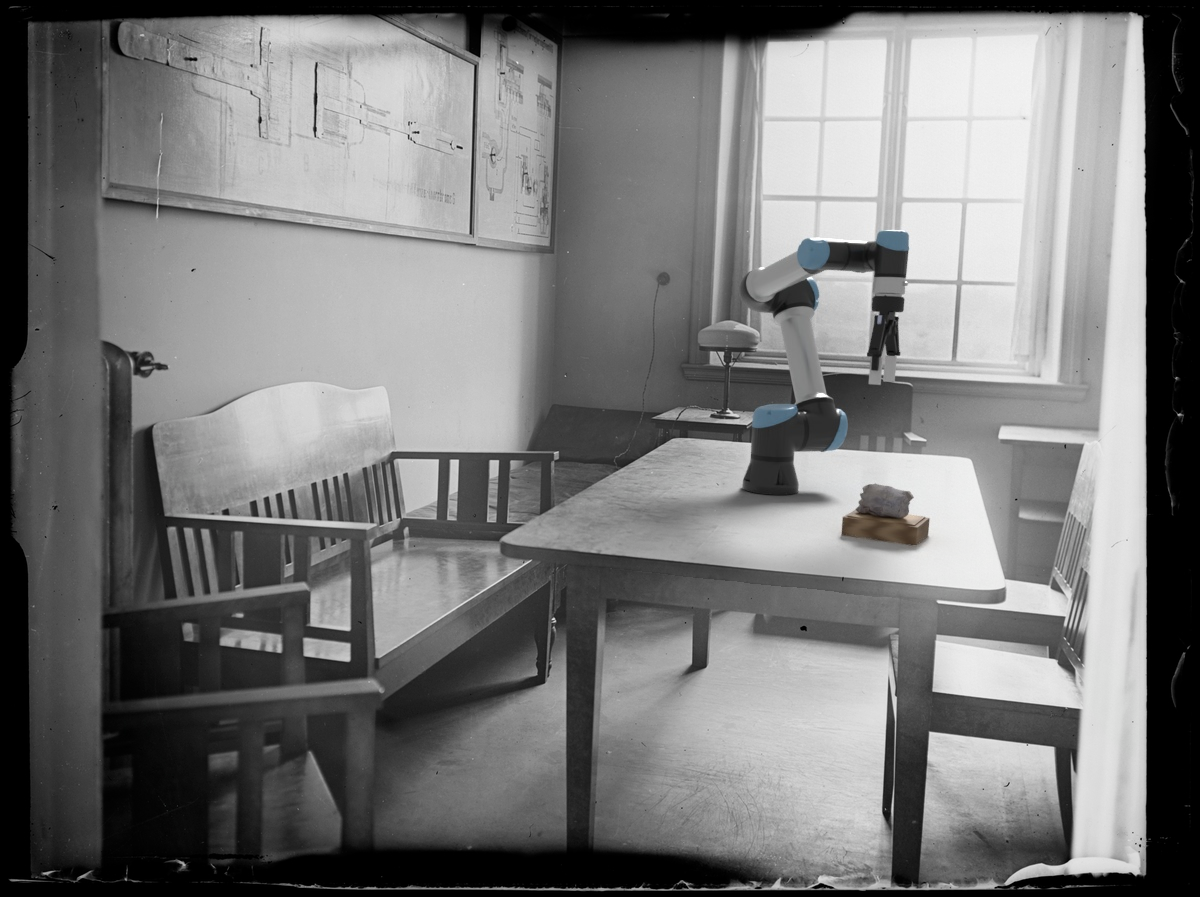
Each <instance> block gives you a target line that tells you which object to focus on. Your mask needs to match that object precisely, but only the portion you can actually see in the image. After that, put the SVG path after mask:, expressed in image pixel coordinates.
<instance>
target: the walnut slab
mask: <svg viewBox="0 0 1200 897" xmlns="http://www.w3.org/2000/svg"><path fill="white" fill-rule="evenodd" d="M930 520H931V518H930V517H926V516H923V515H922V516H921V515H914V514H909V513H908V515H907V516H905V517H904V518H897V517H882V516H879V515H877V514H874V513H867V514H862V513H859V512H857V511H856V510H855V509H854V510H852V511H851V512H848V513H847V514H845V515H843V516H842V524H841V535H842V536H847V537H852V538H853V537H854V538H859V539H860V538H861V539H868V540H872V541H873V540H874V541H881V542H888V543H893V544H901V545H906V546H907V545H908V546H915V547H917V545H918V544H920V543H921V542H922V541H924V540H925V539H927V537H928V536H929V529H930ZM918 546H919V545H918Z"/></svg>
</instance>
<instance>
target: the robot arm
mask: <svg viewBox="0 0 1200 897" xmlns="http://www.w3.org/2000/svg"><path fill="white" fill-rule="evenodd" d="M909 241H910V235H909V233H908V232H907V231H905V230H901V229H900V230H897V229H886V230H880V231H878V232H877V236H876V239H875V240H851V239H850V240H848V239H836V238H823V237H818V236H817V237H807V238H804V239H802V241H801V242H800V244H798V248H797V250H796V251H795V252H793V253H790V254H789V255H787V256H785V257H783V258H781V259H779V260H777V261H776V262H775V261H774V263H772V264H770V265H767V266H766V267H756V268H754V269H752V270H751V271H748V272H747V273H745V275H743V277H742V278H741V280H740V281H739V285H738V294H739V295H738V296H739V299H740V301H741V302H742V303H743V304H744V306H746V307H747V308H748V309H749V310H752V311H753V312H757V313H767V314H768V313H769V314H772V317H773V321H774V323H775V325H777V326H779V327H780V330H781V334H782V335H781V336H782V339H783V344H784V349H785V354H786V360H787V363H788V364H787V365H788V369H789V374H790V378H791V384H792V388H793V393H794V399H795V403H793V404H792V403H773V404H765V405H761V406H758V407H757V408H755V410H754V411H753V414H752V420H751V421H752V422H751V443H750V445H751V446H750V459H749V464H748V465H747V467H746V468H747V469H746V471H745V474H744V477H743V478H742V484H741V486H742V489H743V490H744V491H747V492H749V493H756V494H762V495H771V496H772V495H775V496H776V495H777V496H781V495H782V496H785V495H786V496H787V495H794V494H797V493H798V492H799V486H800V484H799V481H798V480H799V478H798V476H797V472H796V467H795V464H794V461H795V459H794V458H795V452H796V453H797V452H800V453H801V452H802V453H803V452H808V453H809V452H821V453H825V452H827V451H828V452H830V451H831V452H833V451H836V450H838V449H839V448H840V447H841V446H842V445H843V443H844V442H845V440H846V437H847V434H848V428H849V427H848V426H849V424H848V422H849V421H848V417H847V414H846V412H844V410H842V409H841V408H836V405H835V402H834V398H833V397H831V396H829V395H828V394H827V390H826V386H825V380H824V375H823V371H822V368H821V362H820V356H819V353H818V348H817V344H816V340H815V335H814V329H813V326H812V321H811V320H812V318H813V317H814V315H815V312H816V310H817V308H818V307H819V303H820V301H819V299H820V290H819V286H818V284H817V282H816V280H815V279H814V278H813V276H815V275H817V274H820V273H822V272H824V271H840V272H841V271H842V272H854V273H861V274H864V273H871V272H873V284H872V293H873V295H874V296H873V297H872V298H871V311H872V312H874V313H875V312H877V313H878V315H877V314H876V315H875V314H874V321H873V328H872V333H871V337H870V342H869V346H868V350H867V352H866V357H870V360H869V373H868V374H869V376H868V385H874V386H875V385H878V386H881V385H882V382H888V383H895V382H896V371H897V370H896V368H897V357H899V356H901V350H900V336H899V335H900V334H899V331H900V330H899V320H900V316H899V315H896V313H903V312H904V310H905V297H904V296H903V295H905V294H906V293H905V292H906V287H907V286H909V283H908V281H907V279H906V278H907V271H908V260H909V250H910V247H909V246H910V245H909V244H910V242H909ZM884 348H885V352H886V353H885V354H886V355H885V356H884V358H883V356H882V355H883V352H884ZM883 359H884V360H883ZM883 361H884V365H883ZM882 370H883V372H882ZM882 373H883V378H882ZM882 379H883V380H882Z"/></svg>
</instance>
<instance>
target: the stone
mask: <svg viewBox="0 0 1200 897" xmlns="http://www.w3.org/2000/svg"><path fill="white" fill-rule="evenodd" d="M859 495H860V498H861V499H860V500H858V506H857V507H856V508H855V509H854V510H856V511H857V512H859V513H862V514H867V513H874V514H877V515H879V516H882V517H897V518H904V517H905V516H907V515H908V514H909V513H910V510H909V509H910V508H909V507H910V504H911V501H912V500H913V499H914V498H915V497H914V495H913V494H912V492H911V491H909V490H903V489H902V490H901V489H898V488H895V487H893V486H891V485H883V484H879V483H872V484H871V483H870V484H866V485H864V486H863V487H862V492H861V493H859Z"/></svg>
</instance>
